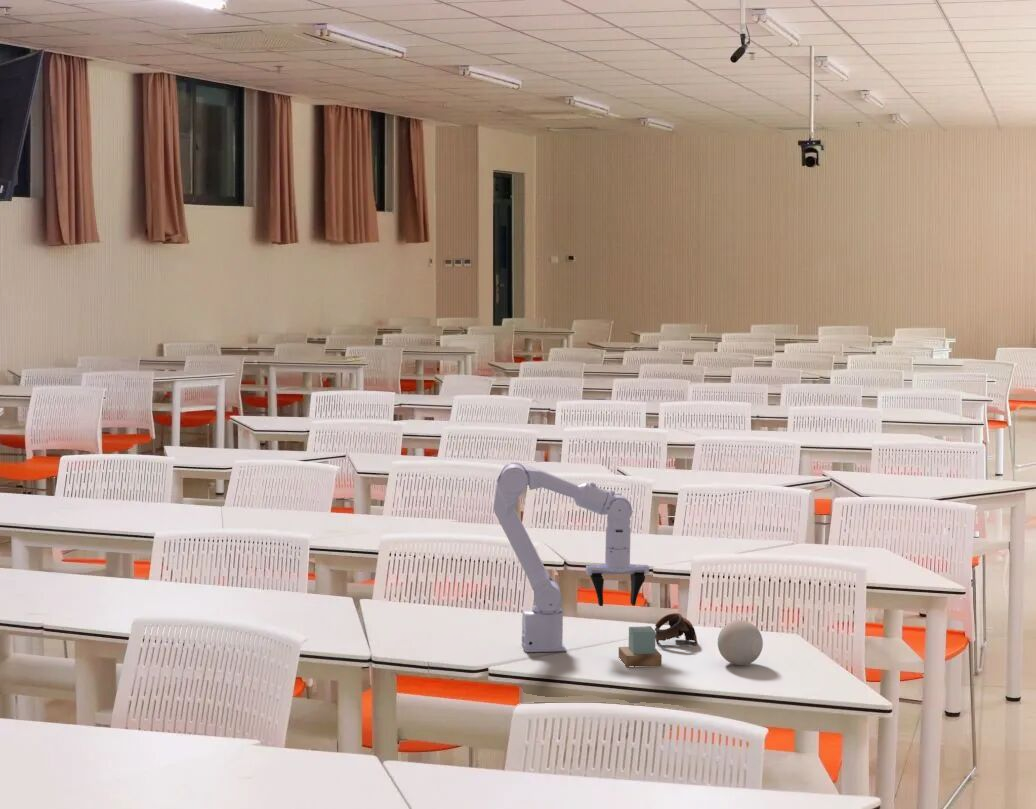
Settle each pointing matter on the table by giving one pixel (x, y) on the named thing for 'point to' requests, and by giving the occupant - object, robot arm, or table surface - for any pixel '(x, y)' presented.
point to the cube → (642, 640)
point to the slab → (639, 658)
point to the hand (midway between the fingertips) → (616, 604)
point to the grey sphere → (740, 642)
